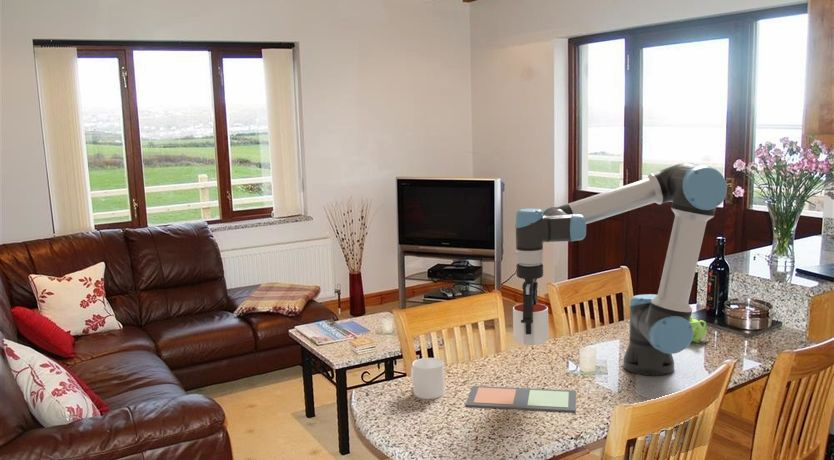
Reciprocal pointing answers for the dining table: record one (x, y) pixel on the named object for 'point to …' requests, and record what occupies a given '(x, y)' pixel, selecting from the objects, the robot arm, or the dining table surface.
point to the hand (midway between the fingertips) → (530, 338)
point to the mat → (522, 398)
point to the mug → (428, 378)
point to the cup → (539, 323)
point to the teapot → (697, 329)
